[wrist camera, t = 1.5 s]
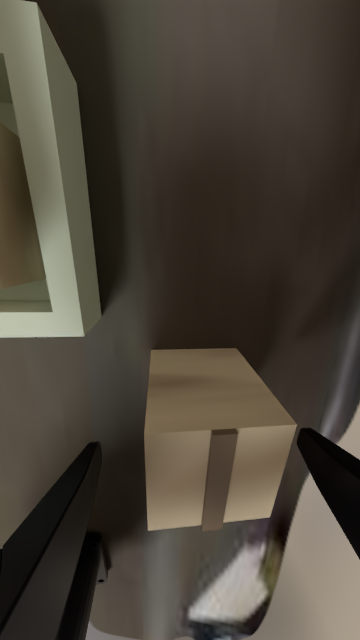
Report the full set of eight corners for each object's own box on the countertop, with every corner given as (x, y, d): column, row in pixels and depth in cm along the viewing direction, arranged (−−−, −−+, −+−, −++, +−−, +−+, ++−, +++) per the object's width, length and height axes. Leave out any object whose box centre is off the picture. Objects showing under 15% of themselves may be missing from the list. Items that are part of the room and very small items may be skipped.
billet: (227, 414, 13) (272, 523, 8) (152, 418, 13) (147, 537, 7) (236, 347, 12) (301, 429, 6) (151, 349, 11) (143, 439, 6)
